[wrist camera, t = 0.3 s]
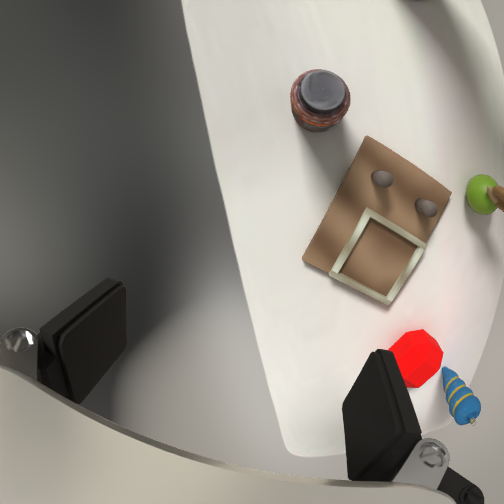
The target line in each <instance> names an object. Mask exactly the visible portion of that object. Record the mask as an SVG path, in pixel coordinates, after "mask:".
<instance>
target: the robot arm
mask: <svg viewBox="0 0 504 504" xmlns="http://www.w3.org/2000/svg"><path fill="white" fill-rule="evenodd" d="M126 344H127V341H126V289H125V287H123V284H122V283H121V282H120V281H117V280H114V279H111V278H106V279H105V280H103V281H102V282H101V283H99V284H98V285H97V286H95V287H94V288H93V289H91V290H90V291H88V292H87V293H86V294H84V295H83V296H82V297H80V298H79V299H78V300H76V301H75V302H74V303H72V304H71V305H70V306H68V307H67V308H66V309H64V310H63V311H62V312H60V313H59V314H58V315H56V316H55V317H54V318H53V319H51V320H50V321H49V322H47V323H46V324H45V325H44V326H42V327H41V328H40V333H39V334H38V335H36V334H35V332H33V331H32V330H30V329H27V328H15V329H12V330H10V331H8V332H7V333H6V334H5V335H4V336H3V338H2V340H1V344H0V504H484V496H483V493H482V491H481V490H480V489H479V488H478V487H477V486H476V485H474V484H473V483H471V482H470V481H468V480H467V479H465V478H464V477H462V476H461V475H459V474H458V473H457V472H455V471H454V470H452V469H451V468H449V467H448V464H449V461H450V456H449V452H448V450H447V448H446V447H445V446H444V445H443V444H442V443H441V442H440V441H438V440H436V439H432V438H425V439H422V437H421V433H422V432H421V429H420V425H419V422H418V419H417V416H416V413H415V410H414V407H413V404H412V402H411V399H410V396H409V393H408V390H407V388H406V385H405V382H404V379H403V377H402V374H401V371H400V369H399V366H398V364H397V361H396V359H395V356H394V353H393V352H392V351H388V350H383V349H377V350H376V351H375V352H372V353H371V354H370V355H369V357H368V359H367V361H366V363H365V365H364V367H363V368H362V370H361V372H360V374H359V376H358V378H357V379H356V381H355V383H354V385H353V386H352V388H351V390H350V391H349V393H348V395H347V397H346V398H345V400H344V402H343V406H342V412H343V422H344V433H345V444H346V456H347V470H348V471H347V472H348V478H349V480H352V481H345V480H332V479H320V478H310V477H300V476H293V475H286V474H279V473H273V472H268V471H262V470H256V469H252V468H247V467H243V466H238V465H234V464H230V463H226V462H222V461H218V460H214V459H211V458H207V457H203V456H200V455H197V454H194V453H190V452H187V451H184V450H181V449H178V448H175V447H172V446H169V445H166V444H164V443H161V442H159V441H156V440H153V439H151V438H148V437H146V436H143V435H141V434H138V433H135V432H133V431H131V430H129V429H126V428H124V427H122V426H120V425H118V424H115V423H113V422H111V421H109V420H107V419H105V418H103V417H101V416H99V415H97V414H95V413H93V412H91V411H89V410H87V409H85V408H83V407H81V406H79V405H78V404H80V403H81V402H82V401H83V400H84V399H85V398H86V396H87V395H88V394H89V393H90V391H91V390H92V389H93V388H94V386H95V385H96V384H97V383H98V381H99V380H100V379H101V378H102V376H103V375H104V374H105V373H106V372H107V370H108V369H109V368H110V367H111V366H112V364H113V363H114V362H115V361H116V360H117V358H118V357H119V356H120V355H121V353H122V352H123V351H124V350H125V347H126Z"/></svg>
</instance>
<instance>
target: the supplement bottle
mask: <svg viewBox="0 0 504 504" xmlns="http://www.w3.org/2000/svg"><path fill="white" fill-rule="evenodd" d="M349 106H350V92H349V89H348V87H347V85H346V84H345V82H344V81H343V80H342V79H341V78H340V77H339V76H338V75H336V74H334V73H332V72H330V71H327V70H321V69H315V70H310V71H307V72H305V73H303V74H302V75H300V76H299V77H298V78H297V79H296V80H295V82H294V84H293V86H292V89H291V107H292V113H293V116H294V118H295V120H296V121H297V122H298V124H299V125H300V126H302V127H303V128H304V129H306V130H309V131H312V132H323V131H326V130H328V129H330V128H332V127H333V126H334V125H335V124H336V123H337V122H338V121H339V120H340V119H341V118H342V117H343V116H344V115H345V114H346V113H347V111H348V108H349Z"/></svg>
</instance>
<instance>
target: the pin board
mask: <svg viewBox="0 0 504 504" xmlns="http://www.w3.org/2000/svg"><path fill="white" fill-rule="evenodd" d="M451 193H452V192H450V191H449V190H448V189H447V188H445V187H444V186H443V185H441V184H440V183H439V182H437V181H436V180H435V179H433V178H432V177H430V176H429V175H428V174H426V173H425V172H424V171H422V170H421V169H419V168H418V167H416V166H415V165H413V164H412V163H410V162H409V161H408V160H406V159H404V158H403V157H401V156H400V155H398V154H397V153H395V152H394V151H392V150H391V149H389V148H387V147H386V146H384V145H383V144H381V143H379V142H378V141H376V140H374V139H373V138H371V137H369V136H365V138H364V140H363V142H362V144H361V146H360V148H359V150H358V152H357V154H356V156H355V158H354V160H353V162H352V164H351V166H350V168H349V170H348V172H347V174H346V176H345V178H344V180H343V182H342V184H341V186H340V188H339V190H338V192H337V194H336V195H335V197H334V199H333V201H332V203H331V205H330V207H329V209H328V211H327V212H326V214H325V216H324V218H323V220H322V222H321V224H320V226H319V227H318V229H317V231H316V233H315V235H314V237H313V238H312V240H311V242H310V244H309V246H308V247H307V249H306V251H305V253H304V255H303V256H302V260H303V261H305V262H307V263H309V264H311V265H313V266H315V267H317V268H319V269H321V270H323V271H325V272H327V273H329V276H331V277H333V278H335V279H337V280H339V281H341V282H343V283H345V284H346V285H348V286H350V287H352V288H354V289H356V290H358V291H360V292H362V293H364V294H366V295H368V296H370V297H372V298H374V299H376V300H378V301H380V302H382V303H384V304H386V305H388V306H389V305H390V303H391V302H392V301H393V299H394V298H395V296H396V295H397V293H398V292H399V290H400V289H401V287H402V286H403V284H404V283H405V281H406V279H407V278H408V276H409V275H410V273H411V272H412V270H413V268H414V267H415V265H416V263H417V262H418V260H419V258H420V257H421V255H422V253H423V252H424V250H425V248H426V247H427V244H425V243H426V241H427V239H428V237H429V236H430V234H431V232H432V230H433V228H434V227H435V225H436V223H437V221H438V219H439V217H440V215H441V213H442V211H443V209H444V207H445V205H446V203H447V201H448V199H449V197H450V195H451Z"/></svg>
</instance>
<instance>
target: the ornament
mask: <svg viewBox="0 0 504 504" xmlns="http://www.w3.org/2000/svg"><path fill="white" fill-rule="evenodd" d="M442 374H443V387H444V391H445V393H446V400H447V403H448V404H449V411H450V414H451V415H452V416H453V417H454V419H455V421H456V423H457V424H459V425H465V424H468V423H470V424H473V423H474V422H475V419H476V418H477V416H478V415H479V413H480V410H481V404H480V401H479V399H478V398H477V397H475V396H474V395H473V392H472V390H471V389H469V388H468V387H466V385H465V383H464V381H462V380H461V379H460V378H459V377H458V374H457V373H456V372H454V371H452V370H450V369H448V368H447V367H443V368H442Z"/></svg>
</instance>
